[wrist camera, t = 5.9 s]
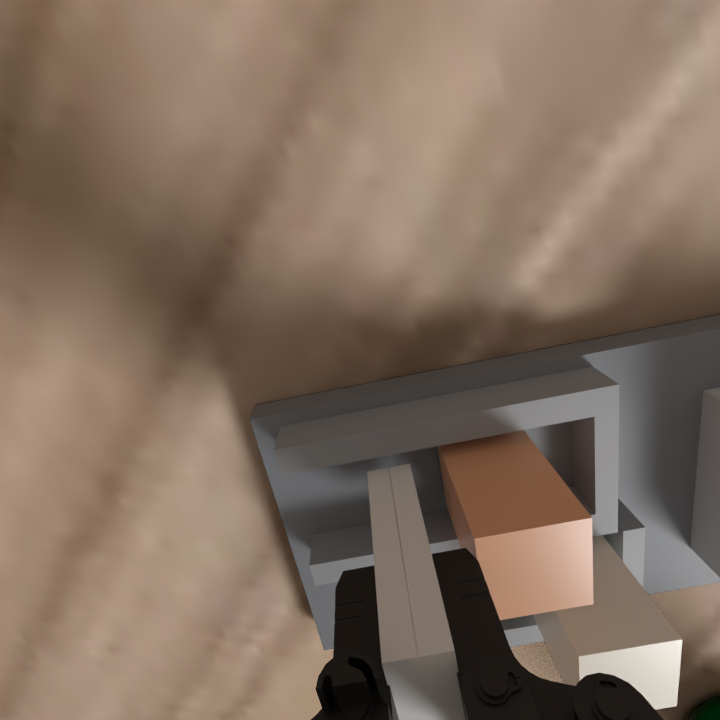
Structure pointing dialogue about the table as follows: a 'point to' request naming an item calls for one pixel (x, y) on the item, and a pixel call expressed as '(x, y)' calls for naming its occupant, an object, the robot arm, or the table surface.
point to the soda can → (707, 710)
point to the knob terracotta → (519, 524)
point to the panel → (545, 428)
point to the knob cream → (616, 634)
